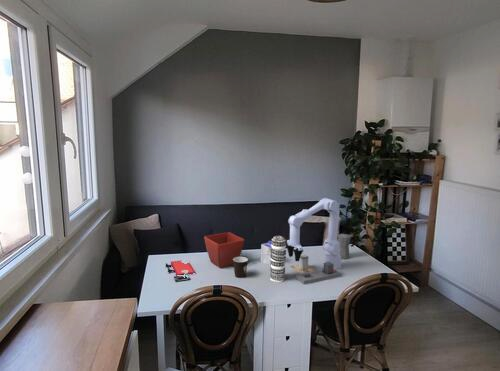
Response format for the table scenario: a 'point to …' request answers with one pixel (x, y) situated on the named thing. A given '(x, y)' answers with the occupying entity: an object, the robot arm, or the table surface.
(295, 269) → the cork mat
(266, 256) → the ink cartridge box
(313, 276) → the power strip
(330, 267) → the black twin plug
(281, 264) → the decorative candle
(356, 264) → the table surface
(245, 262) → the coffee mug
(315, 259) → the table surface
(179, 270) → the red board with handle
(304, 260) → the grey plug
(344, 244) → the coffeepot
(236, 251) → the plant pot
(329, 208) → the robot arm
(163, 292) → the table surface
